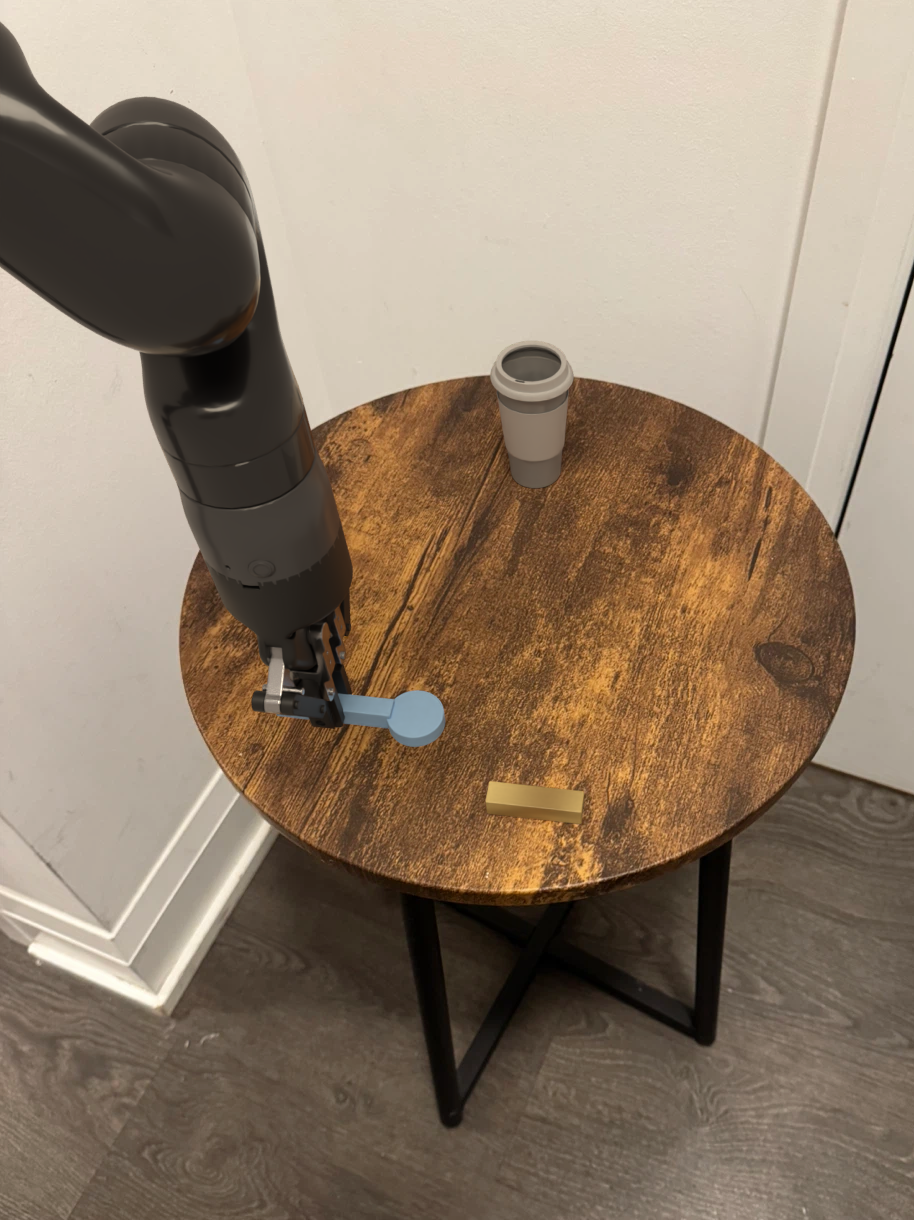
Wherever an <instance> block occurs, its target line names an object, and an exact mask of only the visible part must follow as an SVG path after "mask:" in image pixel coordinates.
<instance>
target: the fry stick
mask: <svg viewBox="0 0 914 1220" xmlns="http://www.w3.org/2000/svg"><path fill="white" fill-rule="evenodd" d="M484 802H485V810H486V814H488V815H494V816H503V817H511V818H512V817H514V818H521V819H530V820H531V819H532V820H538V821H539V820H540V821H549V822H557V823H558V822H559V823H565V824H566V823H567V824H576V825H577V824H578V825H582V822H583V817H584V816H583V815H584V810H585V809H584V808H585V791H583V790H575V789H566V788H558V787H557V788H556V787H548V786H547V787H546V786H540V785H539V786H538V785H531V784H530V785H529V784H520V783H511V782H502V781H501V782H500V781H492V780H490V781H489V782H488V786H487V791H486V796H485V801H484Z"/></svg>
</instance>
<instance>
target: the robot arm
mask: <svg viewBox="0 0 914 1220" xmlns="http://www.w3.org/2000/svg"><path fill="white" fill-rule="evenodd" d="M0 268H1V269H2V270H3V271H5V272H6V273H7V274H9V275H10V276H11V277H13V278H14V279H15V280H17V281H18V282H19V283H21V284H22V285H23V286H25V287H26V288H28V289H29V290H30V291H31V292H33V293H35V295H37V296H38V297H40V298H41V299H43V301H45V302H47V303H48V304H49V305H51V306H52V307H54V308H55V309H56V310H57V311H59V312H61V313H62V314H64V315H65V316H67V317H68V318H69V319H70V320H73V321H74V322H76V323H77V324H79V325H80V326H82V327H84V328H86V329H87V330H89V331H91V332H92V333H94V334H96V335H98V336H99V337H101V338H104V339H107V340H109V341H111V342H112V343H115V344H117V345H120V346H122V347H125V348H128V349H131V350H134V351H136V352H139V356H140V364H141V378H142V388H143V395H144V400H145V401H144V402H145V405H146V411H147V414H148V417H149V421H150V423H151V426H152V428H153V429H152V430H153V431H154V434H155V436H156V438H157V439H156V440H157V441H158V444H159V446H160V449H161V451H162V453H163V456H164V458H165V460H166V462H167V465H168V468H169V470H170V472H171V474H172V476H173V479H174V480H175V483H176V486H177V489H178V492H179V496H180V501H181V505H182V509H183V513H184V515H185V518H186V521H187V524H188V526H189V528H190V531H191V533H192V536H193V538H194V540H195V542H196V544H197V547H198V549H199V551H200V553H201V555H202V558H203V561H204V563H205V565H206V567H207V570H208V572H209V575H210V577H211V579H212V581H213V584H214V585H215V588H216V590H217V593H218V595H219V598H220V600H221V602H222V605H223V606H224V607H225V609H226V610H227V612H228V613H229V614H230V615H231V616H232V617H233V618H234V619H235V620H237V621H238V622H240V623H241V624H242V625H244V627H246V628H247V629H249V630H250V631H251V632H253V634H255V636H256V639H257V646H258V647H257V648H258V655H259V658H260V661H261V662H262V664H263V665H265V666H266V667H268V672H267V681H266V683H263V684H262V686H261V690H256V689H255V690H254V691H253V693H252V696H251V700H250V702H251V703H250V705H251V709H252V711H253V712H255V713H265V714H272V715H276V714H279V715H288V716H301V717H308V718H309V723H310V726H312V727H313V728H319V729H328V730H329V729H330V730H335V729H340V728H342V727H343V726H344V724H343V723H344V720H345V715H344V712H343V708H342V705H341V702H340V699H339V696H338V694H347V695H348V694H351V695H353V689H352V687H351V684H350V680H349V677H348V674H347V671H346V667H345V661H346V659H347V650H346V646H345V643H344V637H349V636H350V633H351V630H352V624H351V623H352V621H351V620H352V619H351V591H350V589H351V586H352V582H353V578H354V567H353V561H352V558H351V555H350V551H349V547H348V544H347V539H346V536H345V532H344V527H343V524H342V520H341V516H340V512H339V510H338V505H337V502H336V498H335V494H334V490H333V487H332V482H331V480H330V477H329V474H328V471H327V468H326V466H325V464H324V461H323V459H322V457H321V456H320V453H319V451H318V448H317V446H316V443H315V441H314V440H315V439H314V436H313V431H312V428H311V425H310V421H309V417H308V414H307V410H306V406H305V402H304V397H303V395H302V391H301V389H300V386H299V383H298V381H297V378H296V376H295V373H294V370H293V367H292V364H291V362H290V359H289V356H288V352H287V349H286V346H285V343H284V341H283V340H284V339H283V337H282V336H283V335H282V331H281V328H280V323H279V317H278V311H277V306H276V300H275V295H274V289H273V284H272V279H271V274H270V269H269V265H268V259H267V253H266V249H265V245H264V239H263V234H262V229H261V225H260V220H259V215H258V211H257V207H256V203H255V199H254V194H253V191H252V187H251V184H250V180H249V178H248V175H247V173H246V170H245V168H244V166H243V164H242V161H241V159H240V158H239V156H238V154H237V153H236V151H235V149H234V148H233V147H232V145H231V144H230V142H229V141H228V140H227V138H225V136H224V135H223V134H222V133H221V131H219V130H218V128H217V127H215V126H214V125H213V124H212V123H211V122H210V121H208V119H206V118H205V117H203V116H202V115H201V114H200V113H198V112H196V111H194V110H193V109H191V108H189V107H187V106H186V105H183V104H181V103H179V102H176V101H174V100H170V99H166V98H163V97H157V96H136V97H130V98H125V99H122V100H120V101H118V102H116V103H114V104H112V105H110V106H107V108H105V109H104V110H102V111H101V112H100V113H99V114H98V115H96V117H95V118H94V119H93V120H92V121H91V122H90V123H87V122H86V121H85V120H83V118H82V119H81V117H79V116H78V115H76V114H75V113H74V112H72V111H71V110H70V109H68V107H66V106H65V105H63V104H62V103H60V101H58V100H56V99H55V98H54V97H53V96H52V95H50V93H48V92H47V90H45V89H44V88H43V86H42V85H40V83H39V81H38V79H37V78H36V77H35V76H34V73H33V71H32V69H31V67H30V64H29V63H28V60H27V58H26V55H25V54H24V51H23V49H22V47H21V45H20V43H19V41H18V40H17V38H16V37H15V35H14V34H13V32H11V31H10V29H9V28H7V26H6V25H5V24H4V23H3V22H1V21H0Z"/></svg>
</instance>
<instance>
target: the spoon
mask: <svg viewBox="0 0 914 1220" xmlns="http://www.w3.org/2000/svg"><path fill="white" fill-rule="evenodd" d="M338 696H339V699H340V702H341V705H342V708H343V712H344V715H345V720H344V723H343V725H344V724H345V725H352V726H361V727H369V728H370V727H371V728H381V729H387V730H389V731H388V732H389V733H390V735H391V737H392V738H393V740H395V741H396V742H397V743H399V744H400V745H403V746H406V747H409V748H410V747H411V748H420V747H425V746H427V745H431V744H432V743H433V742H435V741H436V740H437V739H438V738H439V737H441V736H442V733H443V732H444V730H445V726H446V716H445V708H444V705H443V704H442V702H441V700H440V699H439V698H438V697H437V696H436V695H434V694H433V693H432V692H429V691H427V690H420V689H417V690H416V689H414V690H409V691H405V692H403V693H401V694H399V695H398V696H396V697H395V698H387V697H378V696H377V697H376V696H368V695H359V694H352V695H351V694H348V695H347V694H338ZM275 715H276V717H281V718H291V719H298V720H299V719H300V720H307V721H308V720H309V718H308V717H301V716H288V715H279V714H275ZM309 721H310V720H309Z"/></svg>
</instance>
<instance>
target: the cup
mask: <svg viewBox="0 0 914 1220" xmlns="http://www.w3.org/2000/svg"><path fill="white" fill-rule="evenodd" d="M574 374H575V373H574V371H573V367H572V365H571V363H570V362H569V360H568V359H567V357H566V355H565V353H564V352H563V351H562V350H561V349H560V348H559V347H558V346H556V345H554V344H551V343H549V342H546V341H542V340H524V341H519V342H514V343H513V344H510V345H508V346H506V347H505V348H503V349H502V350H501V351H500V352H499V354H497V357H496V360H495V361H494V363H493V364H492V366H491V369H490V374H489V378H490V382H491V385H492V386H493V388H494V389H495V390H496V397H497V403H498V409H499V410H498V411H499V416H500V423H501V428H502V433H503V440H504V445H505V448H506V451H507V455H508V461H509V468H510V475H511V477H512V479H513V480H514V482H516V483H517V484H519V485H520V486H522V487H524V488H527V489H542V488H546V487H548V486H551V485H552V484H554V483H555V482H556V481H557V480H558V479H559V478H560V476H561V471H562V460H563V459H562V458H563V449H564V447H565V439H566V429H567V417H568V404H569V393H570V392H569V388H570V387H571V386H572V384H573V382H574Z"/></svg>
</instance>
